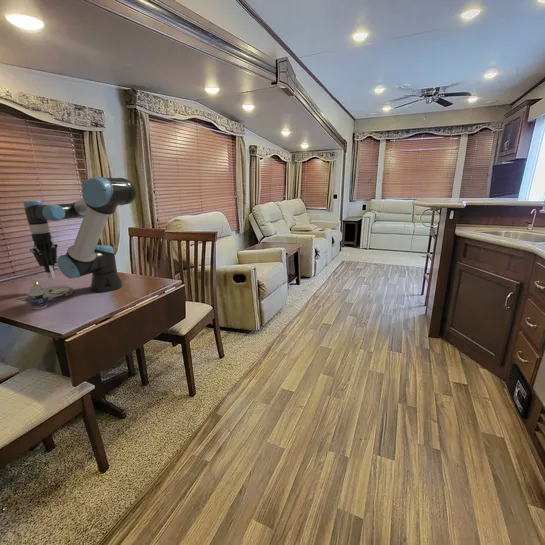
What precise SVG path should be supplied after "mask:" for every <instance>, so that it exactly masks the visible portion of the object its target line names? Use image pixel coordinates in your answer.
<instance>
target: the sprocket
mask: <svg viewBox="0 0 545 545" xmlns="http://www.w3.org/2000/svg"><path fill="white" fill-rule="evenodd" d="M32 285H33V286H40V283H39V281H38V280H35V281H33V282H32ZM41 288H42V289H41V290H43V291H44V293H45V297H46V300H53V299H55V298H59V297H62V296H67V295H69V293H70V292H71V291H73V292H74V288H73V287H72V286H68V284H63V285H49V286H47V287H41ZM69 296H70V295H69ZM26 297H27V298H26V299H27V300H29V299H30V296H29V293H28V294H27V295H26ZM67 297H68V296H67Z"/></svg>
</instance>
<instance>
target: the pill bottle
mask: <svg viewBox="0 0 545 545" xmlns="http://www.w3.org/2000/svg"><path fill="white" fill-rule="evenodd" d="M42 288H43V287H42V286H41V285H39V286H34V285H33V286H31V287H29V291H30V292H29V293H28V294H29V296H30V300H31V301H30V302H31V307H32V310H40V309H41V310H42V309H45V308H46V307H48V302H47V301H46V297H45V293H44V291H43V290H41V289H42Z"/></svg>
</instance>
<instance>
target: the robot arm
mask: <svg viewBox="0 0 545 545" xmlns="http://www.w3.org/2000/svg"><path fill="white" fill-rule="evenodd" d="M81 194H82V195H81V196H82V199H79V200H77V201H74V202H71V203H70V202H69V203H56V204H55V203H54V204H52V203H49V204H44V202H43V201H42V200H25V201H23V207H24V208H23V209H24V213H25V216H26V219H27V220H26V221H27V223H28V227H29V231H30V233H31V240H32V241H33V247H31V248H30V249H29V251H30V252H31V253H32V254H33V256H34V258H35V260H36V261H37V264H38V265H39V266H40V267H44V272H45V273H47V274H46V275H47V278H48V279H55V278H56V275H55V266H56V264H57V267H58V268H59V271H60V272H61V274H62V275H63V276H65V277H66V278H68V279H76V278H80V277H83V276H87V275H90V274H92V276H91V283H90V290H91V291H92V292H96V293H105V292H111V291H115V290H117V289H120V288H122V287H123V286H124V283H123V280H122V279H121V277H120V275H119V273H118V270H117V262H116V254H115V250H114V247H113V246H111V245H107V244H105V245H104V244H103V245H102V244H100V245H99V241H100V238H101V236H102V233H103V232H104V228H105V226H106V224H107V221H108V218H109V217H110V215H111V216H112V215H113V214H115V212H116V209H117V207H118V206H124V205H129V204H131V203H133V202H134V201H136V199H137V196H138V190H137V187H136V186H135V184H134V183H133V182H132V181H131V180H129V179H128V178H127V179H126V178H125V177H124V178H123V177H104V176H96V177H90V178H88V179H86V180H85V181H84V182H83V184H82V188H81ZM81 218H82V220H81V224H80V226H79V230H78V233H77V234H76V237H75V240H74V244H72V245H70V246H69V247H68V248H67V251H66V252H65V254H61V255H60V256H58V253H57V252H58V250H57V249H58V244H56V243H53V241H52V236H51V232H50V226H49V223H48V222H59V221H62V220H70V219H81ZM57 256H58V258H57Z"/></svg>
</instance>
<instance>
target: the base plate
mask: <svg viewBox="0 0 545 545" xmlns="http://www.w3.org/2000/svg"><path fill="white" fill-rule="evenodd" d="M73 293H74V290H73V291H71V292H70V293H69V295H67V296H62V297H59V298H55V299H53V300H46V301H47V303H48V302H53V301H58V300H62V299H65V298H68V297H70V296H71V295H72V294H73ZM28 301H29V302H31V300H30V299H28Z"/></svg>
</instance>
